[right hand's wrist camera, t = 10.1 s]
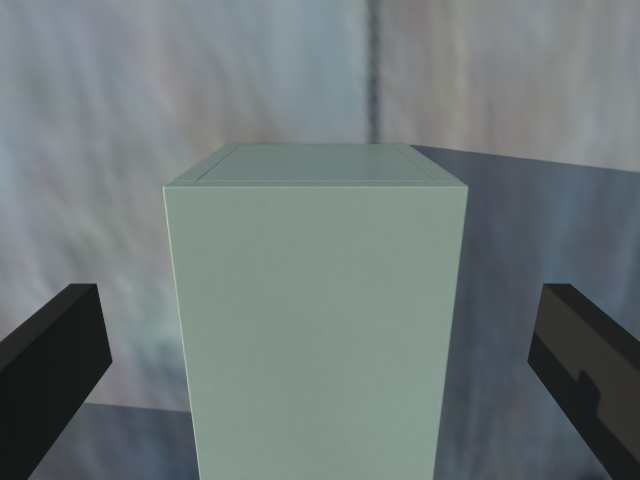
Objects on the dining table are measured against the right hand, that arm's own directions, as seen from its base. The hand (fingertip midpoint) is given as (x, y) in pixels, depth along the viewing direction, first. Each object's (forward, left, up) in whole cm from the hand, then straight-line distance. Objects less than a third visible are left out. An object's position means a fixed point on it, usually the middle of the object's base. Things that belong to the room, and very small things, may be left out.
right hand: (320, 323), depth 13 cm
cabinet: (+4, +6, -15) cm, 17 cm away
